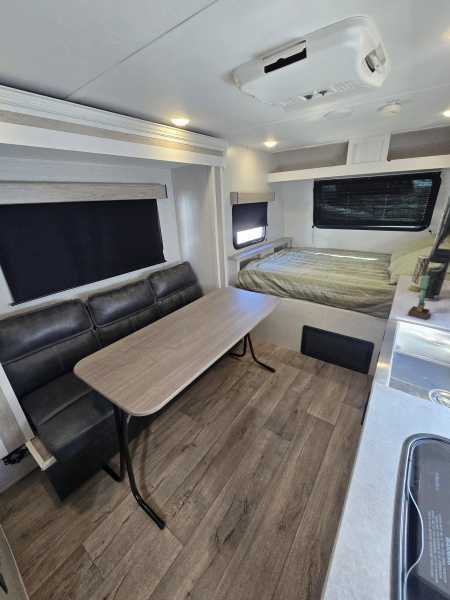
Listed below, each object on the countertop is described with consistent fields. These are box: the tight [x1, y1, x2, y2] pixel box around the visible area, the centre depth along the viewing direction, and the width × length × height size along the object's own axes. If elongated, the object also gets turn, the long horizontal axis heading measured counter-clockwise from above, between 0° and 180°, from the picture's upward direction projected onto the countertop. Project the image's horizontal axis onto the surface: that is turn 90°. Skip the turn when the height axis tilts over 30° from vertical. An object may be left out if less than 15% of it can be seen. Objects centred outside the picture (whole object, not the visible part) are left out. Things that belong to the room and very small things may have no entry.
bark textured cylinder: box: [409, 254, 430, 292], centre depth 170 cm, size 7×7×25 cm
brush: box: [417, 276, 430, 305], centre depth 136 cm, size 5×4×19 cm
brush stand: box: [407, 302, 431, 320], centre depth 139 cm, size 9×8×7 cm
